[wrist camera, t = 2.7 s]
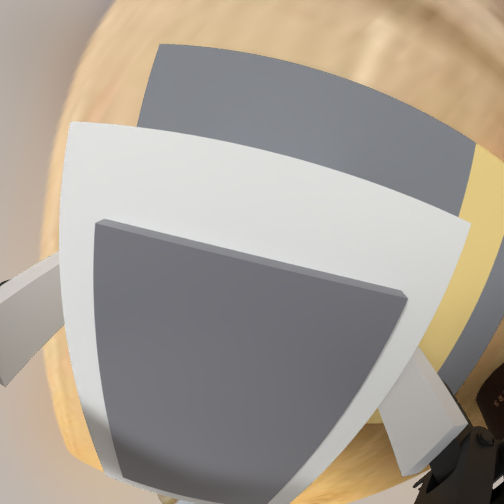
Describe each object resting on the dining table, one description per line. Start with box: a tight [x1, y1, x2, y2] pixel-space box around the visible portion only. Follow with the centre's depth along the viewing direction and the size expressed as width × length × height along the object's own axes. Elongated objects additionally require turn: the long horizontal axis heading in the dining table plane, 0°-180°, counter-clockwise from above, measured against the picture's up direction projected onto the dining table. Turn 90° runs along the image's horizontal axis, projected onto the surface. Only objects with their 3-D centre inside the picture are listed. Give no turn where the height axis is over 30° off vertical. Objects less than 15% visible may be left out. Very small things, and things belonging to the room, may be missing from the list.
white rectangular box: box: [59, 121, 471, 504], centre depth 10 cm, size 12×7×10 cm, turn 166°
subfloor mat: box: [137, 44, 504, 424], centre depth 16 cm, size 22×28×1 cm
